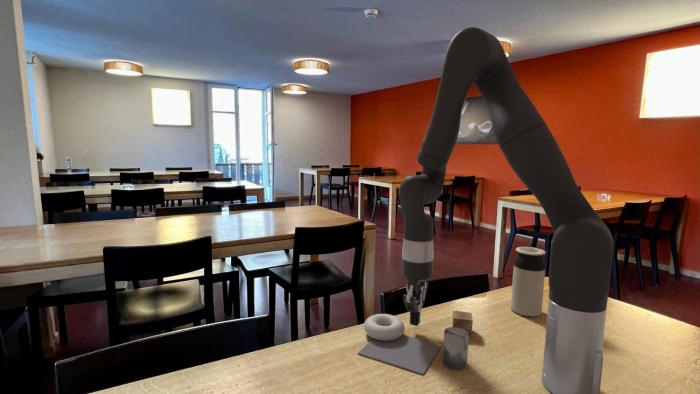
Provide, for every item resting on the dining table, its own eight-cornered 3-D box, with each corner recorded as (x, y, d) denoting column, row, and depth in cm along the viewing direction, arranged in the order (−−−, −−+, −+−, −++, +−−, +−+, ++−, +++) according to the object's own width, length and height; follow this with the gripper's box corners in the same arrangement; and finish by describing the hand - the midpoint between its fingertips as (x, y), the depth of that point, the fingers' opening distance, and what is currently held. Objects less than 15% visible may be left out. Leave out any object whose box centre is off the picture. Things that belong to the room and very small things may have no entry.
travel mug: (512, 315, 103) (517, 252, 100) (509, 304, 110) (513, 245, 108) (544, 319, 100) (549, 255, 98) (538, 307, 108) (543, 247, 106)
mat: (441, 346, 86) (441, 345, 86) (423, 375, 74) (423, 373, 74) (382, 330, 93) (382, 328, 93) (357, 354, 82) (357, 352, 82)
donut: (404, 331, 84) (361, 327, 86) (403, 345, 85) (361, 341, 87) (405, 313, 94) (366, 310, 96) (405, 325, 95) (366, 322, 96)
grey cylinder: (469, 361, 80) (471, 330, 79) (464, 373, 75) (465, 341, 74) (446, 354, 82) (447, 325, 81) (439, 366, 78) (441, 334, 77)
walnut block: (470, 329, 94) (471, 312, 94) (471, 338, 90) (472, 320, 89) (452, 327, 95) (453, 310, 95) (452, 335, 91) (453, 318, 90)
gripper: (424, 266, 82) (421, 339, 84) (439, 252, 94) (436, 317, 96) (393, 261, 86) (390, 331, 88) (411, 248, 97) (409, 311, 100)
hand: (414, 323), depth 92 cm, fingers closed
